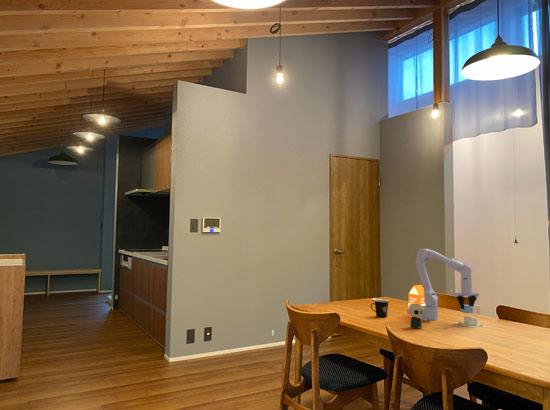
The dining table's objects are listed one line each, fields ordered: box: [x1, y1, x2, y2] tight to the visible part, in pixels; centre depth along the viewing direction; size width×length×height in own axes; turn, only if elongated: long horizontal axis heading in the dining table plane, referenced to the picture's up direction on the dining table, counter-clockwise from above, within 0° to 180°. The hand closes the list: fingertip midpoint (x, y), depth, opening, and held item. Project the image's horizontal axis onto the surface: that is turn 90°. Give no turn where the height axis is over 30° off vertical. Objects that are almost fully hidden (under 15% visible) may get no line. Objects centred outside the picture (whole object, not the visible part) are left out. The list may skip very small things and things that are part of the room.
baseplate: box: [455, 321, 487, 328], centre depth 239 cm, size 12×12×2 cm
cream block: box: [463, 316, 478, 326], centre depth 239 cm, size 5×5×4 cm
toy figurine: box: [406, 303, 424, 329], centre depth 232 cm, size 11×7×13 cm, turn 106°
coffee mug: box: [370, 299, 389, 319], centre depth 263 cm, size 12×9×10 cm
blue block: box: [459, 304, 474, 314], centre depth 243 cm, size 5×5×4 cm
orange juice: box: [408, 284, 425, 318], centre depth 266 cm, size 8×9×20 cm
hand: (466, 308), depth 243 cm, fingers closed on blue block, 5 cm apart
